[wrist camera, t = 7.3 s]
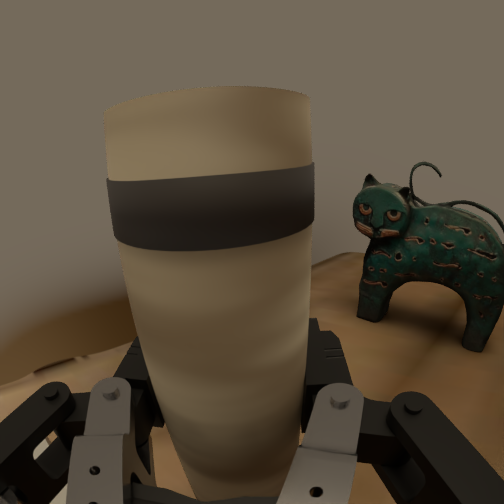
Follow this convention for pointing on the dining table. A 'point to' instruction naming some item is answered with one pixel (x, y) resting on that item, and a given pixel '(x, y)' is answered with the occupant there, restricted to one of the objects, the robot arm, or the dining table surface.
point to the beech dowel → (219, 272)
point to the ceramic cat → (429, 253)
